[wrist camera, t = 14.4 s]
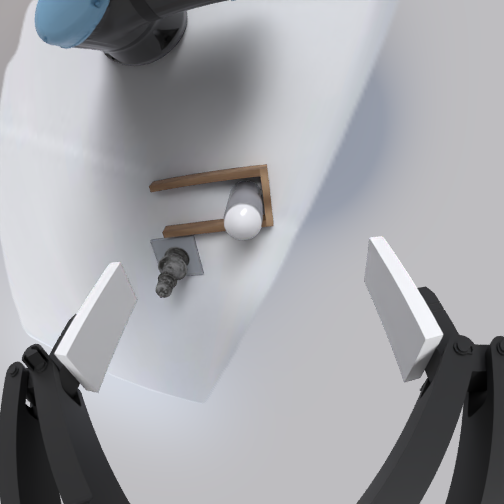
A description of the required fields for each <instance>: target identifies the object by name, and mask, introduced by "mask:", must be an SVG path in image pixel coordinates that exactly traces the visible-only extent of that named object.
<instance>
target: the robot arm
mask: <svg viewBox="0 0 504 504" xmlns="http://www.w3.org/2000/svg"><path fill="white" fill-rule="evenodd" d="M222 1H227V0H39V1H38V4H37V7H36V12H35V27H36V31H37V33H38V35H39V37H40V38H41V39H42V40H43V41H44V42H46V43H48V44H50V45H56V46H60V47H61V48H71V47H72V48H83V49H92V50H100V51H103V52H104V53H105V55H106V56H107V57H108V58H110V59H111V60H113V61H115V62H117V63H120V64H125V65H144V64H148V63H151V62H153V61H156V60H158V59H159V58H161V57H163V56H164V55H166V54H167V53H168V52H169V51H171V50H172V49H173V48H174V47H175V45H176V44H177V43H178V42H179V40H180V39H181V37H182V35H183V33H184V31H185V28H186V23H187V12H186V11H187V10H190V9H194V8H198V7H201V6H205V5H209V4H214V3H218V2H222ZM231 1H234V0H231ZM364 282H365V284H366V286H367V288H368V291H369V293H370V295H371V297H372V300H373V302H374V305H375V307H376V309H377V312H378V314H379V317H380V319H381V321H382V324H383V326H384V329H385V331H386V334H387V337H388V339H389V342H390V344H391V347H392V350H393V352H394V355H395V358H396V361H397V363H398V366H399V369H400V371H401V375H402V378H403V381H404V382H407V381H411V380H415V379H418V378H420V377H421V376H422V374H423V372H424V370H425V371H426V374H427V377H428V378H427V379H426V381H425V383H424V384H423V386H422V388H421V389H420V391H421V393H420V396H419V398H418V400H417V402H416V405H415V407H414V409H413V411H412V413H411V415H410V417H409V419H408V421H407V423H406V426H405V427H404V429H403V431H402V433H401V435H400V437H399V439H398V440H397V442H396V444H395V446H394V448H393V449H392V451H391V453H390V455H389V456H388V458H387V460H386V461H385V463H384V465H383V466H382V468H381V469H380V471H379V473H378V474H377V475H376V477H375V478H374V480H373V481H372V483H371V484H370V486H369V487H368V489H367V490H366V491H365V493H364V494H363V496H362V497H361V498H360V500H359V501H358V502H357V504H419V503H420V501H421V500H422V498H423V496H424V495H425V493H426V491H427V489H428V488H429V486H430V484H431V482H432V480H433V478H434V476H435V474H436V472H437V470H438V468H439V466H440V464H441V461H442V459H443V457H444V455H445V452H446V450H447V448H448V445H449V443H450V440H451V438H452V435H453V432H454V430H455V427H456V424H457V422H458V419H459V416H460V413H461V409H462V406H463V416H462V426H461V434H460V441H459V447H458V453H457V459H456V464H455V469H454V474H453V477H452V482H451V486H450V490H449V493H448V497H447V500H446V504H504V337H503V336H497V337H495V338H494V339H493V340H492V342H491V344H490V345H475V344H474V343H473V342H472V341H471V340H470V339H469V338H467V337H465V336H462V335H459V334H458V332H457V330H456V328H455V327H454V325H453V323H452V321H451V320H450V318H449V316H448V315H447V313H446V311H445V310H444V308H443V307H442V305H441V303H440V301H439V300H438V298H437V297H436V295H435V294H434V293H433V292H432V291H431V290H430V289H428V288H427V287H421V288H417V287H416V286H415V284H414V282H413V281H412V279H411V278H410V276H409V275H408V273H407V272H406V270H405V268H404V267H403V266H402V264H401V262H400V261H399V259H398V258H397V256H396V255H395V253H394V252H393V250H392V249H391V247H390V246H389V245H388V243H387V242H386V240H385V239H384V237H383V236H380V237H370V238H369V244H368V254H367V263H366V271H365V278H364ZM137 300H138V299H137V297H136V295H135V293H134V291H133V288H132V286H131V284H130V282H129V280H128V277H127V275H126V273H125V270H124V268H123V266H122V263H121V262H114V263H110V264H109V265H108V267H107V268H106V269H105V271H104V272H103V274H102V275H101V277H100V278H99V280H98V281H97V283H96V284H95V286H94V287H93V289H92V290H91V292H90V294H89V295H88V297H87V298H86V300H85V301H84V303H83V305H82V306H81V308H80V310H79V311H78V313H77V314H75V315H74V316H73V317H72V318H71V319H70V320H69V321H68V323H67V325H66V326H65V329H64V330H63V331H62V333H61V336H60V337H59V338H58V340H57V342H56V344H55V345H54V347H53V349H52V351H51V353H50V355H48V354H47V353H46V352H45V350H44V349H43V348H42V347H41V346H40V345H39V344H34V345H31V346H30V347H28V348H27V349H26V351H25V352H24V354H23V357H22V361H23V362H24V363H25V364H26V366H27V367H28V368H25V367H24V366H23V364H22V363H20V362H15V363H13V364H11V365H10V366H9V369H8V370H7V373H6V377H5V383H4V389H3V395H2V403H1V412H0V500H1V504H61V499H60V495H61V498H62V501H63V503H64V504H130V503H129V501H128V499H127V498H126V496H125V494H124V493H123V491H122V489H121V487H120V485H119V483H118V481H117V479H116V477H115V476H114V473H113V471H112V469H111V467H110V465H109V463H108V461H107V459H106V457H105V455H104V452H103V450H102V448H101V445H100V443H99V441H98V438H97V436H96V433H95V431H94V428H93V426H92V423H91V420H90V417H89V414H88V412H87V409H86V406H85V403H84V400H83V397H82V393H81V392H80V390H79V389H78V387H79V384H81V385H82V386H83V387H84V388H85V389H86V390H88V391H92V392H99V390H100V387H101V384H102V382H103V379H104V376H105V374H106V371H107V369H108V366H109V364H110V361H111V359H112V357H113V354H114V352H115V349H116V347H117V345H118V342H119V340H120V338H121V335H122V333H123V331H124V328H125V326H126V324H127V322H128V319H129V317H130V315H131V313H132V311H133V309H134V306H135V304H136V302H137ZM26 399H27V400H28V401H29V402H30V407H29V406H27V405H26V404H25V402H26ZM463 403H464V404H463ZM59 493H60V494H59Z"/></svg>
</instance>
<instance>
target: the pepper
mask: <svg viewBox="0 0 504 504" xmlns="http://www.w3.org/2000/svg"><path fill="white" fill-rule="evenodd" d="M262 222H263V210H262V191H261V189H260V187H259V186H258V185H257V184H256V183H254V182H252V181H247V180H244V181H240V182H238V183H236V184H235V185H234V186H233V187H232V189H231V191H230V195H229V199H228V202H227V206H226V210H225V214H224V226H225V229H226V231H227V233H228V234H229V235H230V236H232V237H233V238H235V239H239V240H248V239H251V238H253V237H255V236H256V235H257V234H258V233H259V231H260V229H261V225H262Z"/></svg>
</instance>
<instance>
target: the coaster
mask: <svg viewBox="0 0 504 504" xmlns="http://www.w3.org/2000/svg"><path fill="white" fill-rule="evenodd" d="M151 244H152V247H153V250H154V253H155V256H156V259H157V261H158V263H159V260H160V259H161V258H162V257H164V254H165V252H166V250H167V249H169V248H171V247H180V248H182V249H184V250H185V251H186V252H187V253H188V255H189V258H190V260H189V264H188V265H187V269H188V270H187V274H186V276H189V275H201V274H203V273H204V272H203V268H202V265H201V261H200V257H199V254H198V250H197V246H196V242H195V238H194V235H186V236H178V237H169V238H161V239H153V240H151Z"/></svg>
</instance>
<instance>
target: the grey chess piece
mask: <svg viewBox="0 0 504 504" xmlns="http://www.w3.org/2000/svg"><path fill="white" fill-rule="evenodd" d="M189 260H190V258H189V255H188V253H187V252H186V251H185V250H184V249H182V248H180V247H171V248H169V249H167V250H166V252H165V254H164V257H162V258H161V259H160V260H159V263H158V268H159V271H160V273H161V274H160V275H159V277H158V281H159V282H158V284H157V286H156V293H157V294H158V295H159V296H160V298H162V297H163V298H165V297H168V296H170V294H171V292H172V290H173V287H175V286H176V285H177V280H181V279H183V278H184V277H185V276H186V274H187V270H188V269H187V265H188V264H189Z"/></svg>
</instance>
